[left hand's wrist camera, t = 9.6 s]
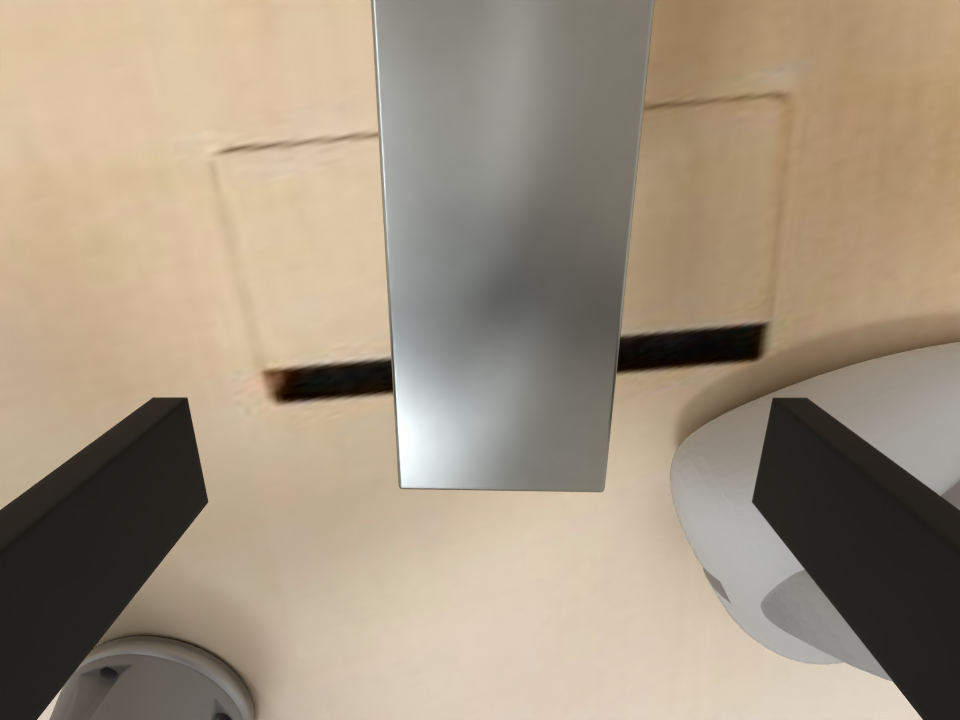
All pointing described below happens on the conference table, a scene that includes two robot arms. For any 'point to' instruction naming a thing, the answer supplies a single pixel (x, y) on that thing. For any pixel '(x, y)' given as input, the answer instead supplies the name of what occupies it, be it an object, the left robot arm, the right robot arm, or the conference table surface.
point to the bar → (507, 232)
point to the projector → (748, 536)
